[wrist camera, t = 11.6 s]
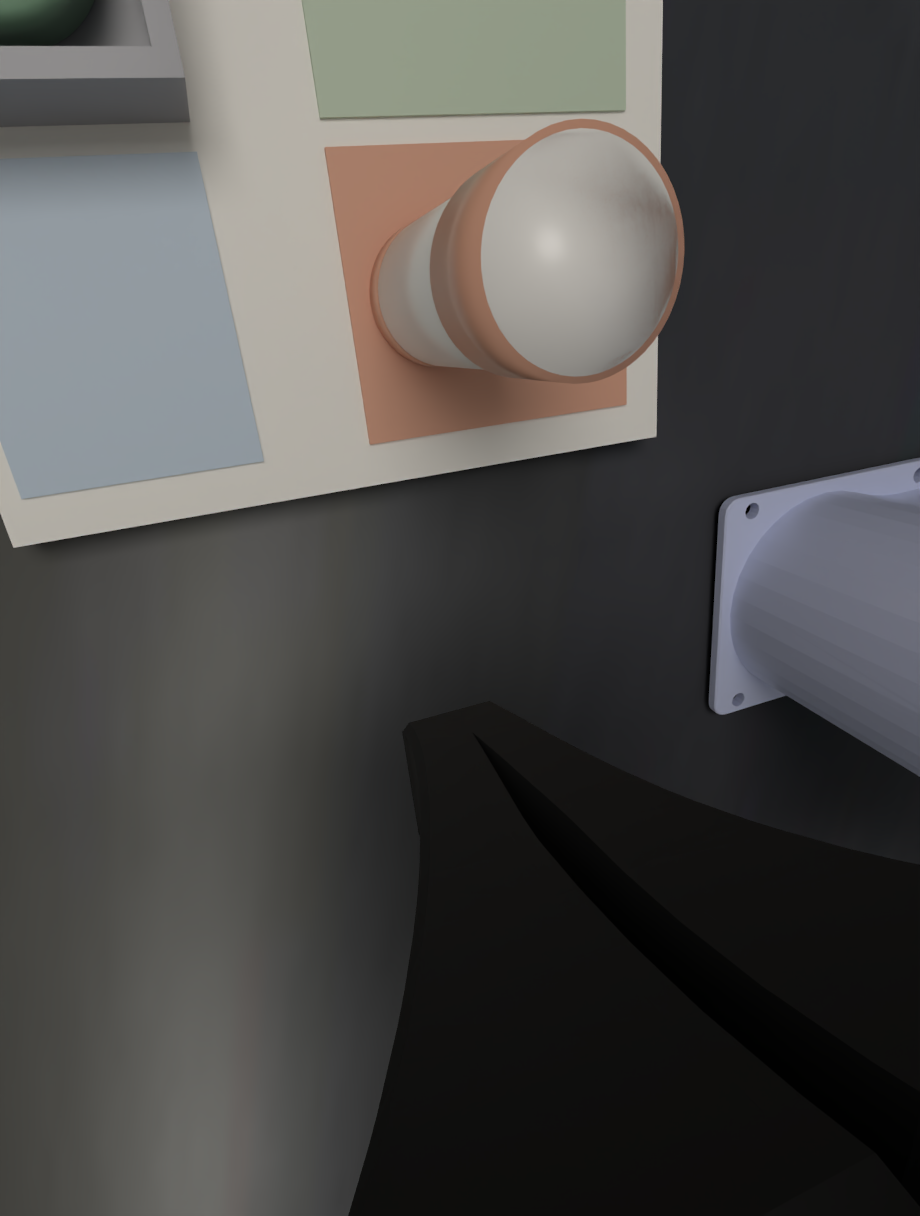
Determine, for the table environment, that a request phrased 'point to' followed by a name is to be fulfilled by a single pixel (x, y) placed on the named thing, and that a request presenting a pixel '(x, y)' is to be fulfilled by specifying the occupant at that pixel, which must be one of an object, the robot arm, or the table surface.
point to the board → (286, 260)
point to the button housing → (99, 71)
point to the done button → (40, 21)
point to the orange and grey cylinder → (539, 261)
